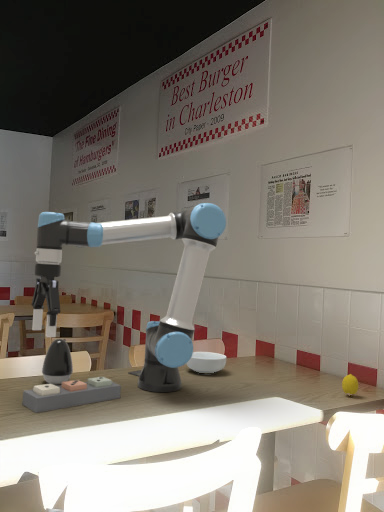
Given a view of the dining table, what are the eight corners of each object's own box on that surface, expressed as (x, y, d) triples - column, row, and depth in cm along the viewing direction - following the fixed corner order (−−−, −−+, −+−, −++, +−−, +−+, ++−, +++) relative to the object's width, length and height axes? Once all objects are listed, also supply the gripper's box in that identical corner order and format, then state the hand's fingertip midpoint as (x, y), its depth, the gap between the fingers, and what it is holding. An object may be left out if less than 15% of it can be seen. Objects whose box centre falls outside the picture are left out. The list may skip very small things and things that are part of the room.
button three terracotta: (77, 388, 151) (77, 379, 151) (86, 392, 146) (87, 383, 147) (61, 391, 147) (61, 381, 147) (70, 395, 143) (70, 385, 143)
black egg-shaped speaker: (76, 380, 171) (78, 337, 171) (65, 387, 161) (68, 342, 161) (48, 378, 172) (51, 335, 172) (36, 385, 162) (39, 339, 162)
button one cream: (50, 392, 144) (51, 382, 144) (59, 397, 140) (60, 387, 140) (33, 395, 141) (33, 385, 141) (41, 399, 137) (42, 389, 137)
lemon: (358, 396, 173) (359, 373, 173) (356, 399, 168) (358, 376, 168) (342, 393, 175) (343, 371, 175) (340, 397, 170) (341, 374, 170)
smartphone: (167, 370, 193) (139, 375, 182) (167, 372, 193) (139, 377, 182) (154, 367, 198) (126, 371, 187) (154, 369, 198) (126, 374, 187)
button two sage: (102, 384, 157) (102, 375, 157) (111, 388, 153) (112, 379, 153) (87, 387, 153) (87, 377, 153) (96, 391, 149) (97, 381, 149)
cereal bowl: (228, 370, 203) (229, 353, 203) (221, 379, 187) (223, 360, 187) (189, 366, 207) (190, 349, 207) (179, 374, 190) (180, 356, 191)
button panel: (104, 391, 159) (105, 379, 159) (120, 397, 153) (120, 385, 153) (22, 404, 140) (23, 390, 140) (36, 412, 134) (37, 398, 134)
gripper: (24, 261, 154) (19, 327, 154) (49, 264, 134) (43, 340, 133) (47, 262, 159) (43, 327, 158) (75, 265, 138) (69, 339, 138)
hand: (43, 333), depth 146 cm, fingers open, 13 cm apart
